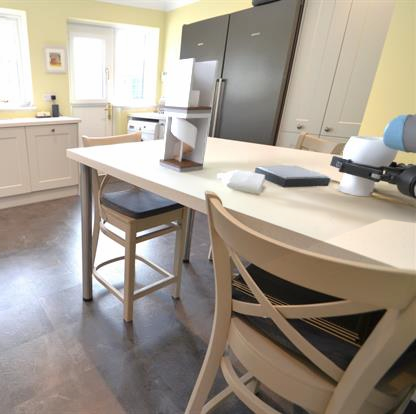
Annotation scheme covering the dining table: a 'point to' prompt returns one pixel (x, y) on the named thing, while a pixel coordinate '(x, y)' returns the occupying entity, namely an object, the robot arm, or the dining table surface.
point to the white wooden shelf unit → (188, 113)
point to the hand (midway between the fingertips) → (353, 161)
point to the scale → (292, 176)
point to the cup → (365, 162)
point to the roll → (243, 181)
